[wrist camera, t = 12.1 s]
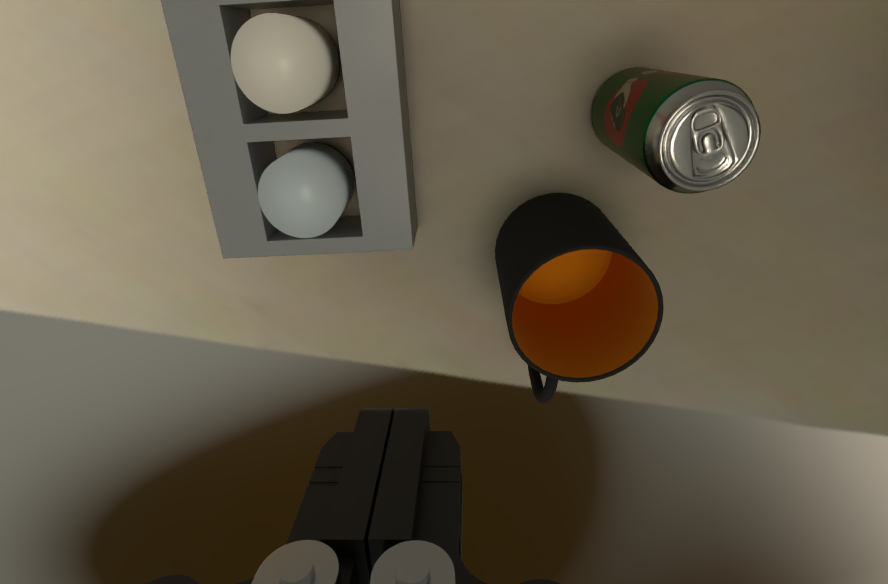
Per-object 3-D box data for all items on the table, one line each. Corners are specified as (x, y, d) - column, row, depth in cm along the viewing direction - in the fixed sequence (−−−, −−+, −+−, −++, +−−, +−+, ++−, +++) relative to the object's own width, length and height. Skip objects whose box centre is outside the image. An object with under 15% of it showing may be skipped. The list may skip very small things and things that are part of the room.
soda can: (600, 162, 36) (663, 215, 25) (580, 85, 34) (638, 107, 23) (678, 133, 35) (777, 176, 24) (661, 53, 33) (762, 60, 22)
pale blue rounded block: (348, 140, 34) (335, 152, 30) (358, 215, 36) (347, 236, 32) (272, 145, 34) (249, 157, 30) (285, 219, 36) (266, 240, 32)
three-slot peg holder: (385, -172, 29) (373, -207, 25) (417, 226, 38) (413, 249, 34) (163, -155, 29) (116, -186, 25) (247, 235, 39) (223, 258, 35)
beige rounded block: (333, 13, 31) (316, 9, 27) (344, 102, 33) (330, 111, 29) (248, 18, 31) (221, 16, 27) (265, 107, 33) (241, 116, 29)
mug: (472, 335, 42) (476, 421, 32) (510, 181, 37) (529, 230, 27) (577, 354, 42) (612, 445, 33) (629, 205, 37) (688, 262, 28)
